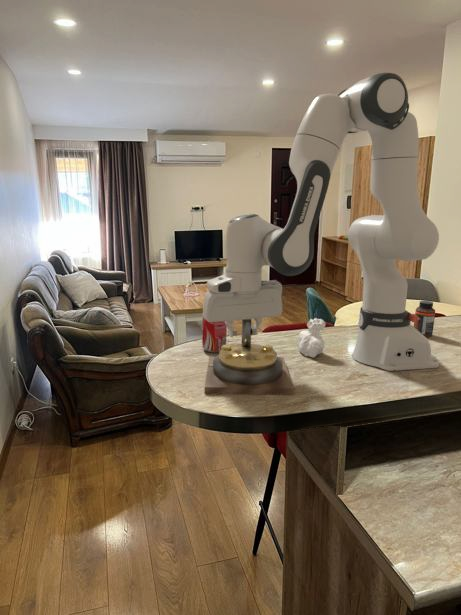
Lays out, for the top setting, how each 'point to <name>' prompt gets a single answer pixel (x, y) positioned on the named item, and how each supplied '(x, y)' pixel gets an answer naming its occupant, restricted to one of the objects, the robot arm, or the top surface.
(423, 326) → the supplement bottle
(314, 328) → the white tied sack
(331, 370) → the top surface
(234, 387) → the cap housing
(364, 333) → the robot arm
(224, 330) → the soda can
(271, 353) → the gold dial with handle
